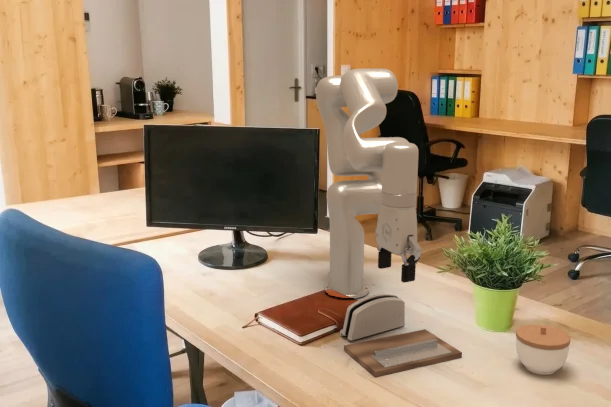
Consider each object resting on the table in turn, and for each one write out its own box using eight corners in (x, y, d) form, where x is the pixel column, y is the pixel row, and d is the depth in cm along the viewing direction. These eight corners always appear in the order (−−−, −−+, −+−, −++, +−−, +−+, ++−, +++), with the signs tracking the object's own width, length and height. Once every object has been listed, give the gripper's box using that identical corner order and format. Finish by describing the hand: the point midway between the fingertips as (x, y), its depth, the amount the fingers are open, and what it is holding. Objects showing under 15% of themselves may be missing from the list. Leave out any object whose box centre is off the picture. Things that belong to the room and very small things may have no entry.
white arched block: (392, 322, 157) (396, 286, 154) (404, 330, 153) (409, 293, 150) (338, 337, 148) (341, 299, 146) (349, 346, 145) (353, 307, 142)
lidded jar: (578, 377, 128) (582, 334, 127) (531, 382, 126) (534, 339, 124) (548, 354, 139) (551, 315, 137) (504, 359, 137) (506, 319, 135)
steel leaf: (371, 357, 135) (371, 351, 135) (436, 343, 142) (436, 338, 141) (384, 368, 130) (384, 362, 130) (451, 353, 137) (451, 347, 136)
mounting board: (343, 350, 141) (344, 345, 141) (424, 333, 150) (425, 329, 150) (375, 377, 129) (375, 371, 129) (461, 357, 138) (462, 352, 137)
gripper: (364, 193, 141) (362, 264, 145) (406, 210, 126) (402, 289, 130) (392, 190, 144) (389, 260, 148) (436, 206, 129) (432, 284, 133)
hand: (395, 274), depth 139 cm, fingers open, 9 cm apart
